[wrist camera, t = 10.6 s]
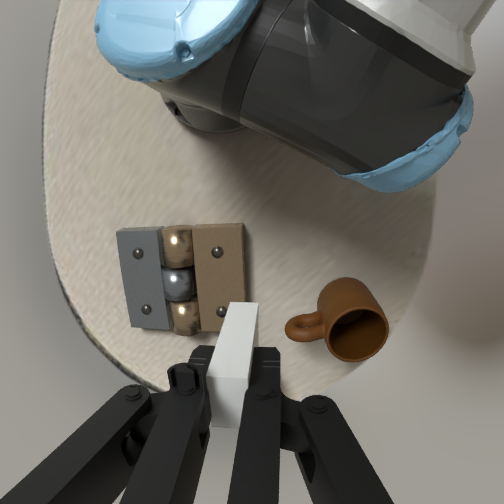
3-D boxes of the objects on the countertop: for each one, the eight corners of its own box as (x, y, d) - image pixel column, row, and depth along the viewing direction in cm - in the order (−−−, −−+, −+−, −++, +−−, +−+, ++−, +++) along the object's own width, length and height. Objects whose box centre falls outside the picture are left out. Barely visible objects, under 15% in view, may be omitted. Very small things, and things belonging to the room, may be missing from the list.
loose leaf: (124, 227, 42) (110, 234, 38) (192, 225, 41) (183, 231, 37) (138, 319, 46) (127, 331, 42) (201, 322, 45) (194, 336, 41)
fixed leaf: (167, 225, 41) (156, 232, 38) (243, 223, 41) (239, 229, 37) (178, 321, 45) (170, 335, 41) (247, 323, 44) (244, 337, 40)
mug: (284, 329, 44) (285, 368, 35) (282, 278, 42) (284, 309, 33) (367, 323, 43) (386, 360, 34) (371, 273, 41) (393, 302, 32)
